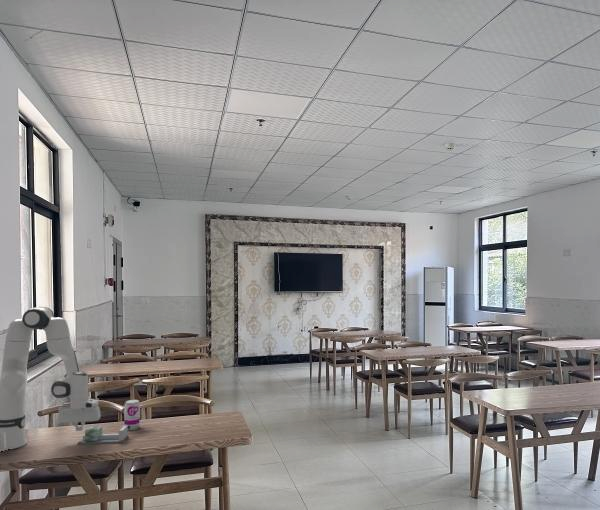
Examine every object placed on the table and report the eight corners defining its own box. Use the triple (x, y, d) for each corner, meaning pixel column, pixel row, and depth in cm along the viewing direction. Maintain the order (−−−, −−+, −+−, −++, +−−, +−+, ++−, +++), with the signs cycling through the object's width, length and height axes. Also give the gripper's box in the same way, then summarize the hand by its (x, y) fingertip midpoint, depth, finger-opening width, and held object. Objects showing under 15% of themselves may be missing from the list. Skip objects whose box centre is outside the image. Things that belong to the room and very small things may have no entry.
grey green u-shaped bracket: (77, 444, 222) (77, 432, 222) (85, 438, 232) (85, 426, 232) (121, 443, 224) (122, 431, 224) (127, 436, 234) (128, 425, 234)
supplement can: (139, 429, 245) (140, 402, 246) (124, 431, 242) (124, 403, 243) (139, 425, 253) (139, 398, 254) (124, 427, 250) (124, 400, 251)
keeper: (84, 440, 224) (85, 430, 224) (90, 436, 231) (90, 426, 231) (96, 440, 224) (97, 430, 225) (101, 435, 231) (102, 426, 232)
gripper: (55, 406, 224) (55, 433, 223) (97, 403, 226) (97, 431, 226) (61, 402, 231) (61, 429, 230) (101, 400, 233) (101, 427, 232)
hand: (79, 430), depth 228 cm, fingers closed
